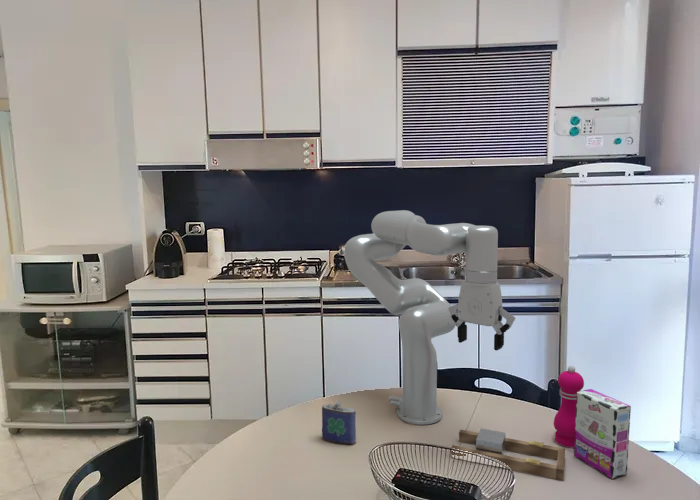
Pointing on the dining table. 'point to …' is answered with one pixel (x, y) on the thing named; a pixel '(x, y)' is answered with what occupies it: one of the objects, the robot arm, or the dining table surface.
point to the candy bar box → (602, 432)
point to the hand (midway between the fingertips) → (480, 345)
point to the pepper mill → (567, 406)
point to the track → (525, 448)
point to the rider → (491, 441)
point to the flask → (338, 424)
